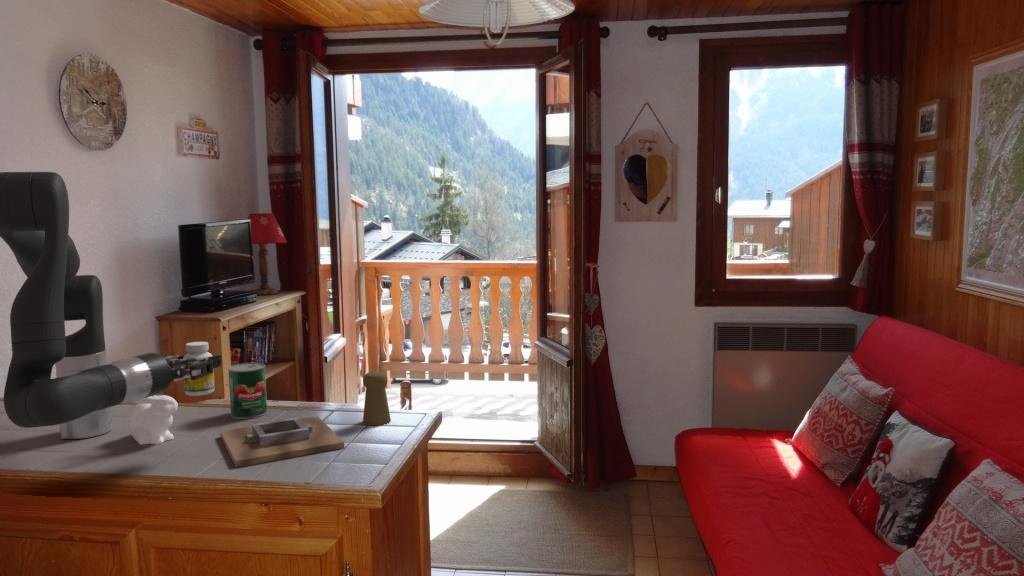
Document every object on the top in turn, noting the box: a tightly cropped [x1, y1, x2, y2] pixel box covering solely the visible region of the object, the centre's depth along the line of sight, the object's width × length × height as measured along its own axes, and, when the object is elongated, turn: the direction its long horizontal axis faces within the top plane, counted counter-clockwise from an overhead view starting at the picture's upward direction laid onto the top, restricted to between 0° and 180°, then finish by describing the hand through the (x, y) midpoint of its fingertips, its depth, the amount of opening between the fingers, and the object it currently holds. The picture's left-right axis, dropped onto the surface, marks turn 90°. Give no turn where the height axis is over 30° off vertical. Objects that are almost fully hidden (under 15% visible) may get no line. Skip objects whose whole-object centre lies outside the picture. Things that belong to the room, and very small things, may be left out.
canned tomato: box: [227, 362, 268, 420], centre depth 165 cm, size 8×8×11 cm
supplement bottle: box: [183, 341, 216, 397], centre depth 139 cm, size 5×5×10 cm
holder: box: [219, 415, 345, 468], centre depth 145 cm, size 20×20×3 cm
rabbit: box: [128, 394, 179, 446], centre depth 147 cm, size 12×9×12 cm
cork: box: [362, 371, 392, 427], centre depth 158 cm, size 6×6×11 cm
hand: (208, 359), depth 141 cm, fingers closed on supplement bottle, 5 cm apart
